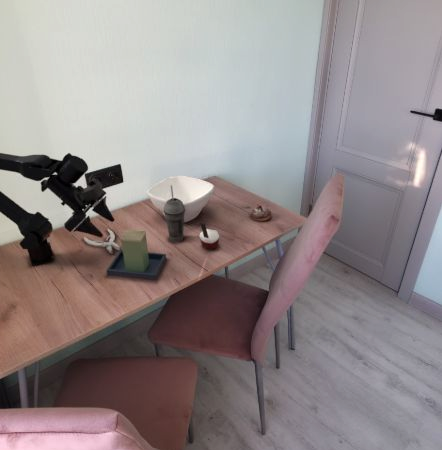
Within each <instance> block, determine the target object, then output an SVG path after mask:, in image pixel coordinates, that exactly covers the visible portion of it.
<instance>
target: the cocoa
mask: <svg viewBox="0 0 442 450" xmlns="http://www.w3.org/2000/svg"><path fill="white" fill-rule="evenodd" d="M200 228H201V231H200V233H199V239H200V243H201V246H202V247H203V248H204V249H205V250H214V249H216V248H217V247H218V245H219V241H220V235H219V233H218V231H217V230H214V229H211V228H207V227H206V224H205V223H202V222H200Z"/></svg>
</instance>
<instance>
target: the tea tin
mask: <svg viewBox="0 0 442 450" xmlns="http://www.w3.org/2000/svg"><path fill="white" fill-rule="evenodd" d="M119 241H120V243H121V250H123V256H124V262H125V268H126V271H134V272H145V270H146V268H147V267H148V265H149V257H148V252H149V250H148V242H147V230H140V229H139V230H138V229H125V231H123V233H122V235H121V237H120V239H119Z"/></svg>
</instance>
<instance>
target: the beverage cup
mask: <svg viewBox="0 0 442 450" xmlns="http://www.w3.org/2000/svg"><path fill="white" fill-rule="evenodd" d="M171 194H172V198H171V199H169V200H168V201H167V202H166V203H165V205H164V214H165V216H164V217H165V220H166V226H167V231H168V232H167V233H168V237H169V240H170V241H171V242H175V243H176V242H181V241H182V240H183V239H184V228H185V227H184V226H185V225H184V224H185V222H184V213H185V207H184V204H183V203H182V201H181V200H179V199H177V198H173V190H172V185H171ZM164 214H163V215H164Z"/></svg>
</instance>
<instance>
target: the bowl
mask: <svg viewBox="0 0 442 450" xmlns="http://www.w3.org/2000/svg"><path fill="white" fill-rule="evenodd" d="M171 185H172V190H173V198H177V199H179V200H181V201H182V203H183V204H184V207H185V213H184V223H187V222H190V221H192V220H194V219H196V218H197V217H198V216H199V214H201V211H202V209H203V208H204V207H205V206H207V204H208V203H209V200H210V198H211V196H212V194H213V192H214V191H215V185H214V184H213V183H211V182H208V181H206V180H203V179H199V178H196V177H191V176H185V175H172V176H171V177H170V176H169V177H167V178H165V179H163V180H161V181H160V180H159V182H156V183H155V184H154V185H152V186H151V187H149V189H148V190H147V191H146V196H147V197H148V199H149V200H150V201H151V202H152V204H153V206H154V207H155V208H156V209H158V210H160V212H161V213H162V214H163V216H164V217H165V214H164V205H165V203H166V202H167V201H168V200H169V199H171V198H172V194H171Z"/></svg>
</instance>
